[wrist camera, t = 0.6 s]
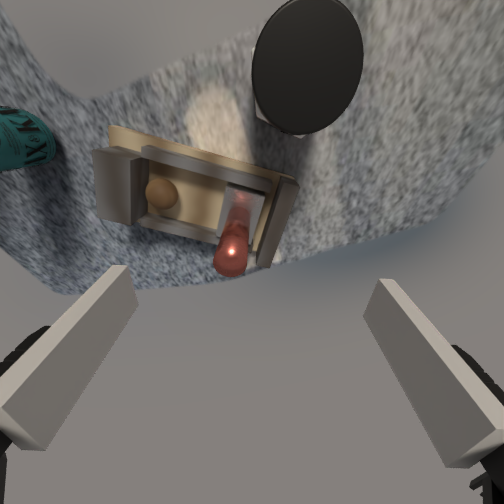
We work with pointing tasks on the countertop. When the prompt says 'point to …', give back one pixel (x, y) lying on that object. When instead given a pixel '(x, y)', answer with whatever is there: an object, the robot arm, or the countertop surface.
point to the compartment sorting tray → (185, 189)
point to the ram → (236, 228)
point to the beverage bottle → (23, 140)
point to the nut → (161, 193)
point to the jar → (306, 66)
